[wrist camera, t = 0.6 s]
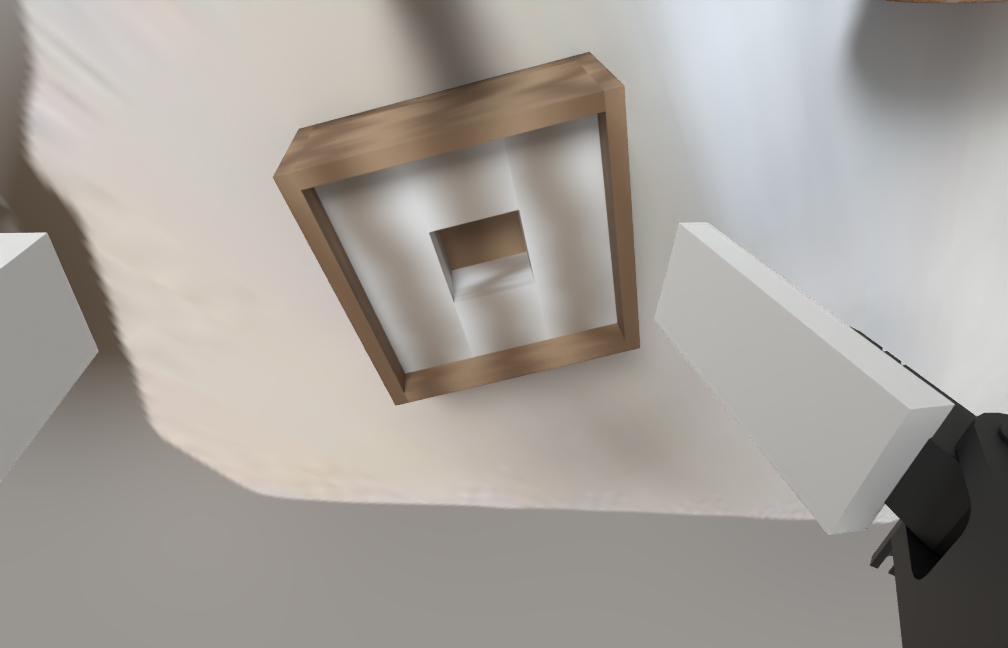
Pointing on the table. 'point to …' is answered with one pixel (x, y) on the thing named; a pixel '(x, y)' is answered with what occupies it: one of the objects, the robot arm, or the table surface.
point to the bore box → (476, 226)
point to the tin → (946, 1)
